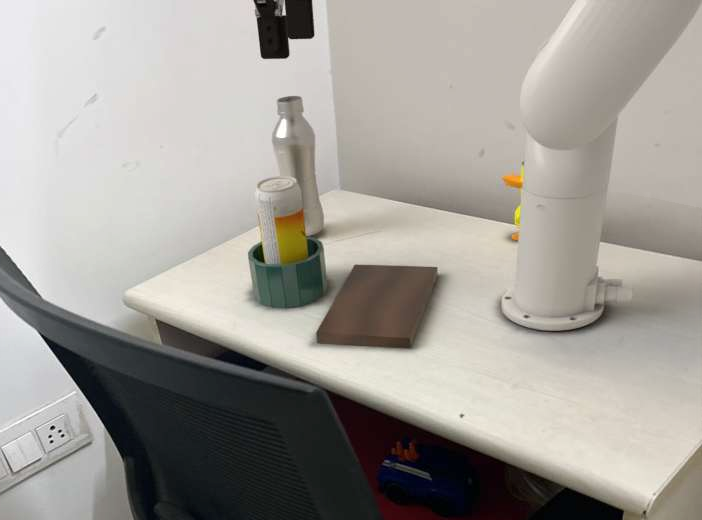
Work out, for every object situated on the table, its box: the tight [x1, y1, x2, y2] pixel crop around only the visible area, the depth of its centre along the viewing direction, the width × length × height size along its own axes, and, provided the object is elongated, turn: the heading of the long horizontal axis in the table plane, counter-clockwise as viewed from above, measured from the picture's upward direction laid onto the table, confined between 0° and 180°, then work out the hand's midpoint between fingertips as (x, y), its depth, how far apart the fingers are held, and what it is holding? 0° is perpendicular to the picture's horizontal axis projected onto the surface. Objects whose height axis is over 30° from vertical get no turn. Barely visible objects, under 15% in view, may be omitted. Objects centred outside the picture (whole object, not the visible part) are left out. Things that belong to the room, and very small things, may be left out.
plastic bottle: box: [271, 95, 325, 237], centre depth 118 cm, size 6×7×20 cm
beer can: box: [254, 175, 309, 265], centre depth 105 cm, size 6×6×15 cm
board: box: [315, 264, 439, 349], centre depth 103 cm, size 12×20×2 cm, turn 164°
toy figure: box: [501, 160, 524, 241], centre depth 112 cm, size 7×4×12 cm, turn 46°
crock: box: [247, 236, 329, 309], centre depth 108 cm, size 10×10×6 cm
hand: (288, 47), depth 88 cm, fingers open, 9 cm apart
